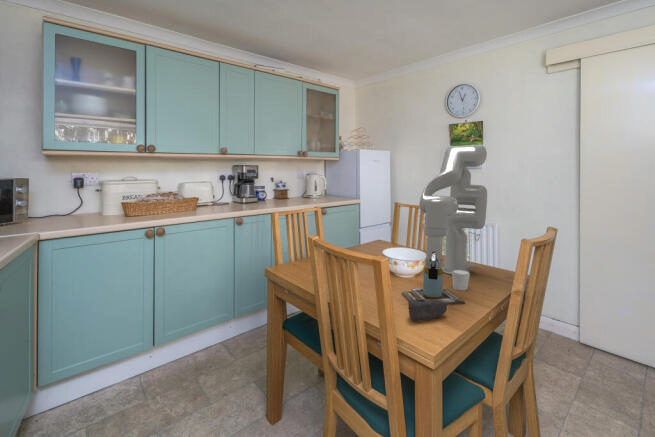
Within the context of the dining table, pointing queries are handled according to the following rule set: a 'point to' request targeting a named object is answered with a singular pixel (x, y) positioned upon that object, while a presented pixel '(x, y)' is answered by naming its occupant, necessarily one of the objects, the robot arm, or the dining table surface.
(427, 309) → the perforated stone tool
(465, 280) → the white cylinder
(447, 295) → the dark rectangular tray
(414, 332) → the dining table surface
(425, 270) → the bottle
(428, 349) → the dining table surface
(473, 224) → the robot arm
